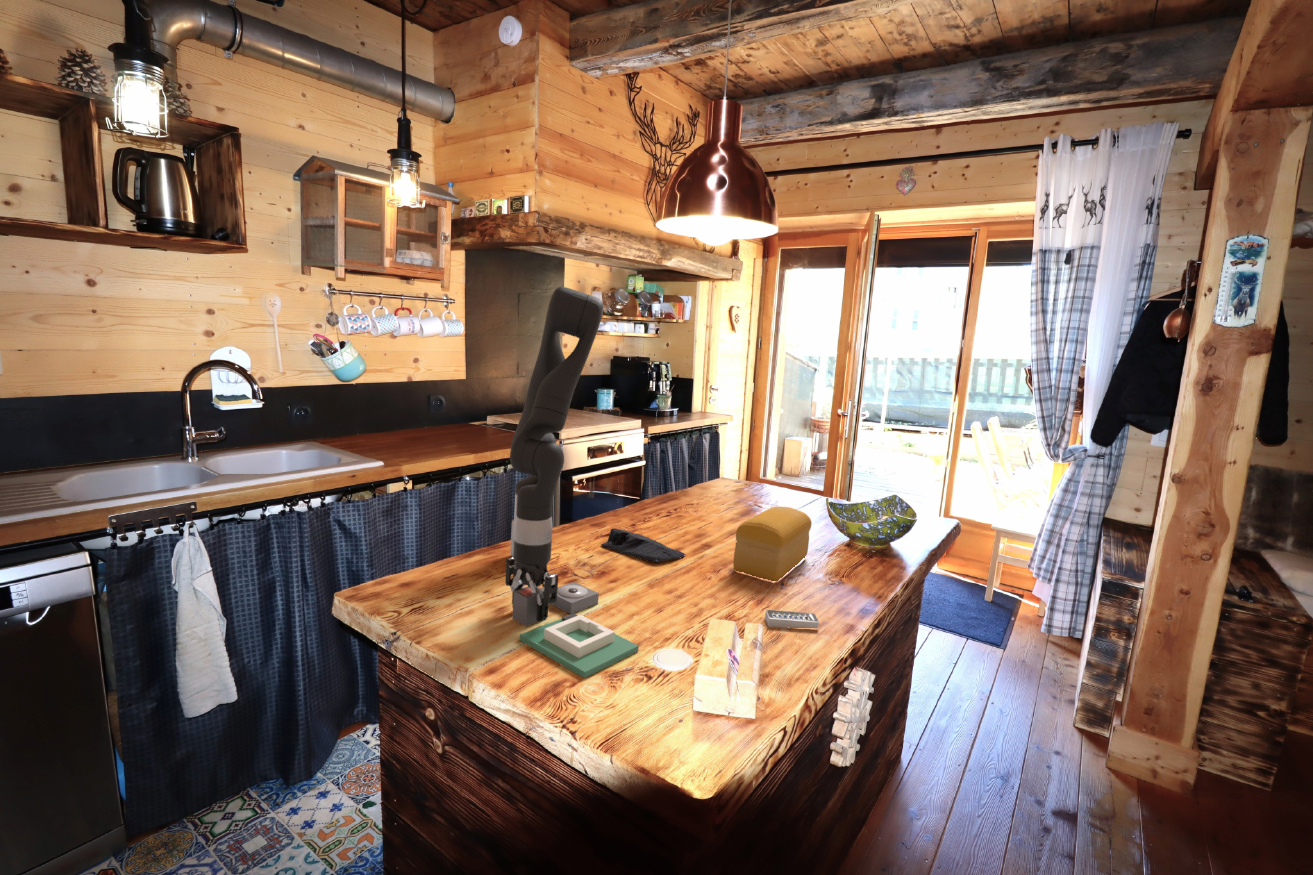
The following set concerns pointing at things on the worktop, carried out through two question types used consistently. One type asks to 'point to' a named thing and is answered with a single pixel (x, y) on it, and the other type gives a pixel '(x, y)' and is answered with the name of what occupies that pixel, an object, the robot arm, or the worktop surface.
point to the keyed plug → (525, 606)
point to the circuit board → (579, 644)
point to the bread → (772, 542)
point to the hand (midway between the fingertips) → (529, 613)
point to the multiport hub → (791, 619)
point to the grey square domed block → (575, 598)
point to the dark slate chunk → (640, 546)
